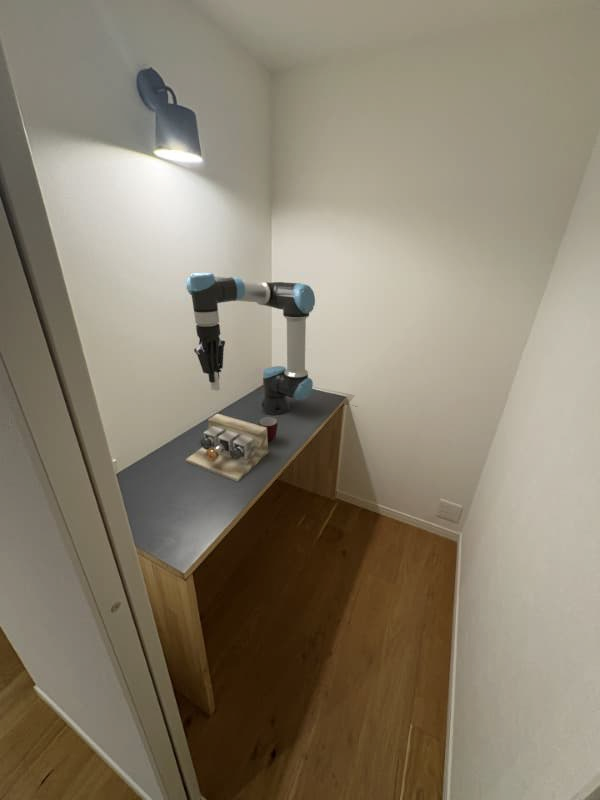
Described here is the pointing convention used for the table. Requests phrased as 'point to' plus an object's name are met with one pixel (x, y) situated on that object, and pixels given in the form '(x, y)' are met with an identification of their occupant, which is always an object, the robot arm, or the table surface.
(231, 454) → the knob
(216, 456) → the knob middle
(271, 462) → the table surface
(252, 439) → the mount
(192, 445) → the table surface
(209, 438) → the knob
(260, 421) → the mug
